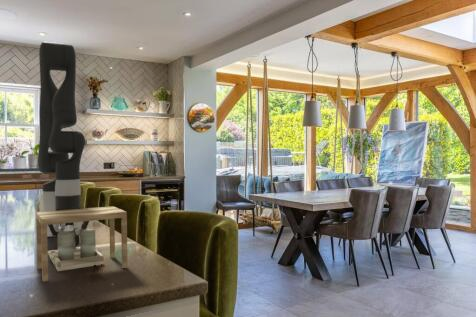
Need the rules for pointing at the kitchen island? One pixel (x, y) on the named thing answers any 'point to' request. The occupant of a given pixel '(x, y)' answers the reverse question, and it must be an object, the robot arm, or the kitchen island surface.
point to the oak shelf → (78, 216)
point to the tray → (76, 251)
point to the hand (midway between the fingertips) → (68, 247)
